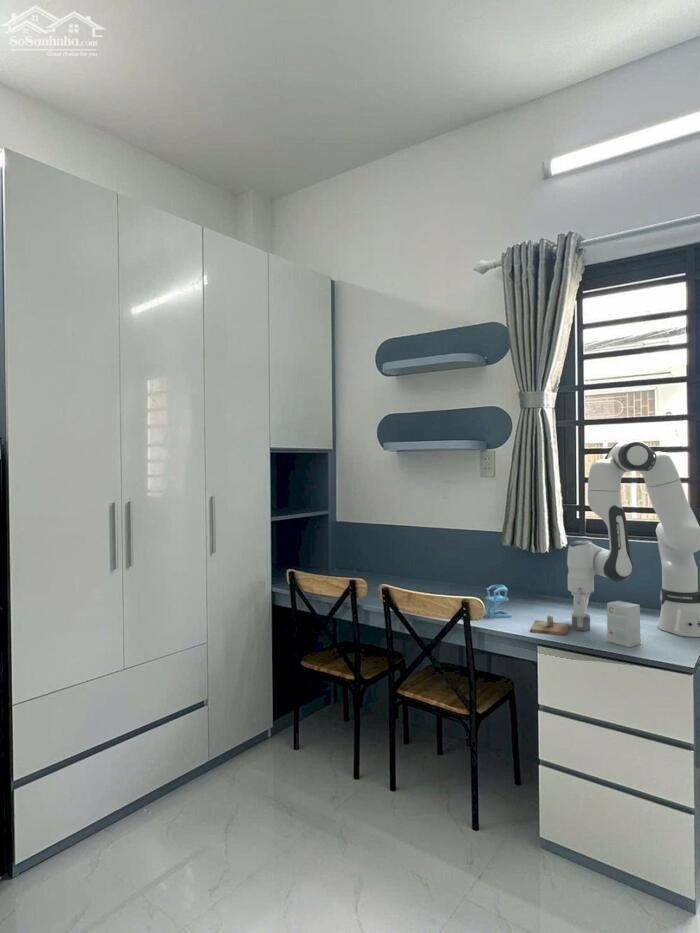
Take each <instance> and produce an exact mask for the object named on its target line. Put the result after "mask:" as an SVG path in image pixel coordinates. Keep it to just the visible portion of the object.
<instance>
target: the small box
mask: <svg viewBox="0 0 700 933" xmlns="http://www.w3.org/2000/svg"><path fill="white" fill-rule="evenodd" d="M640 606H641V605H640V604H637V603H631V602H627V601H621V600H614V601H610V602H607V603H606V618H607V619H606V624H607V625H606V626H607V628H606V629H607V630H606V631H607V632H606V633H607V635H606V636H607V642H609V643H612V644H616V645H620V646H622V647H626V648H632V647H635V646H638V645H641V607H640Z"/></svg>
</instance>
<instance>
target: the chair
mask: <svg viewBox="0 0 700 933" xmlns="http://www.w3.org/2000/svg"><path fill="white" fill-rule="evenodd" d="M485 589H486V592H487V596H485V599H486V603H487V604H486V613H485V614H486V615H485V616H486V617H489V618H494V619H495V618H512V617H513V616H512V614H511V613H508V612H506V611H503V610H501V609H499V610H497V609H498V607H499V606H500V604H502V603H505V602H509V600H510V598H508V597H507V595H508V590H509V589H508V587H506V586H505V585H504V584H493V585H490V586H489V587H487V588H485ZM491 589H495V590H493V595H492V596H491V593H490V590H491ZM501 592H504V595H503V596H502V595H501ZM492 602H493V603H494V606H493V608H492ZM491 608H492V610H491Z"/></svg>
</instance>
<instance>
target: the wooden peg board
mask: <svg viewBox="0 0 700 933" xmlns="http://www.w3.org/2000/svg"><path fill="white" fill-rule="evenodd" d="M546 619H547V621H546V620H534V622H533V624H532V626H531V627H530V632H531V631H533V632H532V633H537V632H540V633H539V634H547V635H555V636H556V635H558V636H565V637H566V636H567V635H568V632H569V630H570V629H569V628H570V627H571V626H570V623H568V622H567V623H565V622H555V621H554V616H553V615H547V618H546Z"/></svg>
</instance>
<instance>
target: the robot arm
mask: <svg viewBox="0 0 700 933" xmlns="http://www.w3.org/2000/svg"><path fill="white" fill-rule="evenodd" d="M627 472H628V473H629V472H639V473H640V474H641V475H642V477H643V479H644V485H645V487H646V490H647V494H648V497H649V499H650V503H651V505H652V509H653V510H654V512H655V514H656V516H657V517H658V519H659V521H660V522H658V524H657V526H656V528H655V534H656V537H657V542H658V544H657V545H658V551H659V556H660V557H659V558H660V562H661V563H660V564H661V582H662V583H661V588H660V603H661V605H660V606H661V607H660V615H659V619H658V622H657V625H656V627H657V628H658V629H660V630H661V631H664V632H668V633H672V634H675V635H677V636H680V637H693V638H700V590H699V589H698V588H699V585H698V584H699V583H698V582H699V581H698V578H699V577H698V576H699V574H698V573H699V572H698V569H699V568H698V566H697V564H696V560H695V556H694V553H697V552H698V551H700V524H699V521H698V520H697V518H696V515H695V513H694V512H693V509H692V508H691V506H690V504H689V501H688V500H687V496H686V493H685V491H684V488H683V484H682V481H681V477H680V475H679V472H678V470H677V467H676V464H675V463H674V461H673V459H672V457H671V455H669V454H668V453H666V452H664V451H654V450H653V449H651V447H649V445H647V444H646V443H644V441H640V440H637V439H636V440H635V439H634V440H632V439H628V440H624V441H623V440H622V441H620V442H618V443H616V444H614V445H613V446H612V447H611V448H610V449H609V451H608V452H607V454H606V456H605V458H604V459H598V460H596V461H594V462H593V463H592V464H591V465H590V468H589V474H588V478H587V479H588V480H587V503H588V506H589V509H590V510H591V511H592V512H593V513H594V514H595V515H597V516H598V517H599V518H600V519H601V520H602V521H603V522H604V524H605V525H606V527H607V532H608V542H609V546H608V547H609V549H606V548H603V547H601V546H598V545H596V544H595V543H593V542H592V541H591V540H588V539H577V540H574V541H572V542H570V544H569V545H568V549H567V558H566V559H567V563H566V565H567V568H568V573H567V590H568V591H569V592H571V595H572V596H573V600H572V601H573V602H572V603H573V607H572V610H573V611H572V614H574V617H577V625H578V627H583V618H584V617H585V614H587V613H586V612H587V609H588V604H589V598H590V596H591V593H594V592H595V576H596V575H599V576H601V577H604V578H607V579H609V580H610V581H612V582H614V583H623V582H626V581H627V580H628V579H630V578H631V576H632V574H633V573H634V569H635V565H634V560H633V558H632V554H631V551H630V543H629V542H630V540H629V532H628V523H627V516H626V512H625V510H624V508H623V503H622V489H621V487H622V486H621V482H622V478H623V476H624V475H625V473H627Z"/></svg>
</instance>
